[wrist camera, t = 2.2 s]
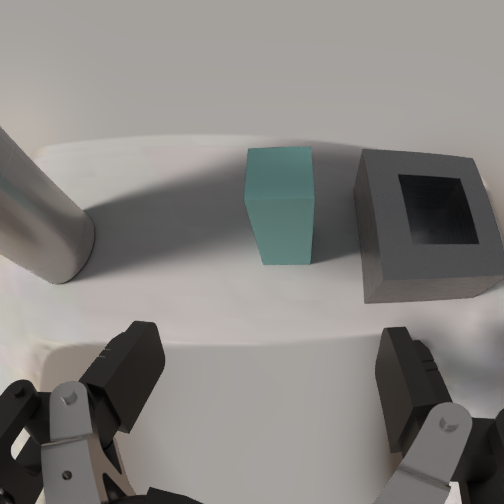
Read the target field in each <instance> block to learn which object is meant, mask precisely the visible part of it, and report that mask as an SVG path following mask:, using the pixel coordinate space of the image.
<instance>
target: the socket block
mask: <svg viewBox="0 0 504 504" xmlns="http://www.w3.org/2000/svg"><path fill="white" fill-rule="evenodd" d="M354 197H355V204H356V212H357V220H358V229H359V238H360V248H361V259H362V271H363V285H364V303H365V304H367V303H394V302H415V301H432V300H447V299H461V298H473V297H475V296H477V295H478V294H480V293H482V292H483V291H485V290H486V289H488V288H490V287H491V286H493V285H494V284H496V283H497V282H499V281H500V280H502V279H503V278H504V250H503V246H502V242H501V238H500V235H499V231H498V227H497V224H496V221H495V217H494V214H493V211H492V208H491V205H490V202H489V199H488V196H487V193H486V190H485V187H484V185H483V182H482V179H481V177H480V174H479V172H478V169H477V167H476V164H475V162H474V160H473V158H466V157H458V156H450V155H441V154H440V155H439V154H430V153H419V152H406V151H391V150H370V149H362V154H361V159H360V164H359V169H358V174H357V178H356V183H355V187H354Z"/></svg>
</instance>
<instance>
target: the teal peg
mask: <svg viewBox="0 0 504 504" xmlns="http://www.w3.org/2000/svg"><path fill="white" fill-rule="evenodd" d="M244 203H245V206H246V209H247V213H248V216H249V219H250V222H251V226H252V229H253V232H254V235H255V239H256V242H257V245H258V249H259V252H260V255H261V258H262V262H263V265H302V264H310V261H311V249H312V235H313V220H314V203H315V195H314V180H313V166H312V154H311V147H273V148H253V149H248V155H247V167H246V178H245V190H244Z"/></svg>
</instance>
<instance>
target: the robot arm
mask: <svg viewBox="0 0 504 504" xmlns="http://www.w3.org/2000/svg"><path fill="white" fill-rule="evenodd" d="M93 243H94V225H93V222H92V220H91V218H90V217H89V216H88V215H87V214H86V213H85V212H84V211H82V210H81V209H80V208H79V207H78V206H77V205H76V204H75V203H74V202H73V201H72V200H71V199H70V198H69V197H68V196H67V195H66V194H65V193H64V192H63V191H62V190H61V189H60V188H59V187H58V186H57V185H56V184H55V183H54V182H53V181H52V180H51V179H50V178H49V177H48V176H47V175H46V174H45V173H44V172H43V171H42V170H41V169H40V168H39V167H38V166H37V165H36V164H35V163H34V162H33V161H32V160H31V159H30V158H29V157H28V156H27V155H26V154H25V153H24V152H23V151H22V149H21V148H19V146H18V145H17V144H16V143H15V142H14V141H13V140H12V139H11V138H10V137H9V135H8V134H7V133H6V132H5V131H4V130H3V129H2V128H1V126H0V254H1V255H3V256H4V257H6V258H8V259H9V260H11V261H13V262H14V263H16V264H18V265H19V266H21V267H23V268H25V269H26V270H28V271H30V272H31V273H33V274H35V275H37V276H39V277H40V278H42V279H44V280H46V281H48V282H50V283H52V284H60V283H64V282H66V281H68V280H70V279H71V278H73V277H74V276H75V275H76V274H77V273H78V272H79V271H80V270H81V269H82V267H83V266H84V264H85V263H86V261H87V259H88V257H89V255H90V253H91V250H92V247H93ZM164 366H165V355H164V350H163V347H162V343H161V340H160V336H159V332H158V329H157V326H156V324H155V323H153V322H144V321H134V322H133V323H132V324H131V325H130V326H129V328H128V329H127V330H126V331H125V332H122V333H121V334H119V335H118V336H116V337H115V338H113V339H112V340H111V341H110V342H109V343H108V345H107V346H106V347H105V350H103V351H102V352H101V353H100V355H99V357H97V358H96V359H95V361H94V362H93V363H92V364H91V366H90V367H89V368H88V369H87V371H86V372H85V374H83V376H82V377H81V378H80V380H79V381H78V382H77V381H69V382H65V383H62V384H60V385H59V386H57V387H56V388H55V389H54V390H53V392H37V390H36V389H35V387H34V386H33V384H32V383H31V382H30V381H28V380H18V381H15V382H13V383H12V384H10V385H9V386H8V387H7V388H6V390H5V391H4V392H3V393H2V395H1V396H0V504H35V503H36V501H37V499H38V497H39V495H40V493H41V491H42V489H43V487H44V493H45V501H46V504H203V503H200V502H198V501H196V500H193V499H191V498H189V497H187V496H184V495H180V494H175V493H171V492H167V491H163V490H159V489H155V488H152V487H149V490H148V492H147V495H136V493H135V492H134V490H133V488H132V486H131V485H130V483H129V481H128V478H127V475H126V472H125V469H124V465H123V462H122V459H121V455H120V452H119V448H118V444H117V441H116V438H115V437H114V435H115V434H116V432H117V430H118V431H121V432H124V433H128V434H129V433H130V431H131V429H132V428H133V426H134V424H135V422H136V420H137V418H138V416H139V414H140V412H141V411H142V409H143V407H144V405H145V403H146V401H147V399H148V397H149V396H150V394H151V392H152V390H153V388H154V386H155V384H156V383H157V381H158V379H159V377H160V375H161V374H162V372H163V370H164ZM375 376H376V382H377V386H378V390H379V395H380V400H381V405H382V409H383V414H384V419H385V424H386V429H387V435H388V440H389V446H390V452H391V453H397V452H402V456H403V460H402V462H401V464H400V465H399V467H398V468H397V470H396V471H395V473H394V474H393V476H392V477H391V479H390V481H389V482H388V483H387V485H386V486H385V487H384V489H383V490H382V492H381V493H380V495H379V496H378V497H377V498H376V500H375V501H374V502H373V504H444V503H445V501H446V499H447V497H448V495H449V492H450V489H451V486H449V482H450V481H451V482H458V483H459V488H460V494H461V501H462V504H504V409H502V410H501V411H500V412H499V414H498V415H497V417H496V418H495V419H488V418H473V417H471V415H470V413H469V412H468V411H467V410H466V409H465V408H464V407H463V406H461V405H459V404H456V403H453V402H452V399H451V397H450V395H449V392H448V390H447V387H446V385H445V383H444V381H443V378H442V376H441V374H440V372H439V371H438V367H437V365H436V363H435V362H434V359H433V357H432V354H431V352H430V350H429V349H428V348H427V347H426V346H425V345H424V344H423V343H422V342H421V341H419V340H415V341H412V339H411V337H410V335H409V332H408V330H407V328H406V327H392V328H384V329H383V332H382V336H381V341H380V347H379V351H378V355H377V360H376V365H375ZM23 428H25V430H26V431H27V432H28V433H29V435H30V437H29V439H28V440H27V442H26V444H25V445H24V447H23V448H22V450H21V451H20V453H19V455H18V456H17V458H16V460H15V459H14V458H13V457H12V455H11V446H12V444H13V443H14V441H15V440H16V438H17V437H18V435H19V434H20V432H21V431H22V429H23Z"/></svg>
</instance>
